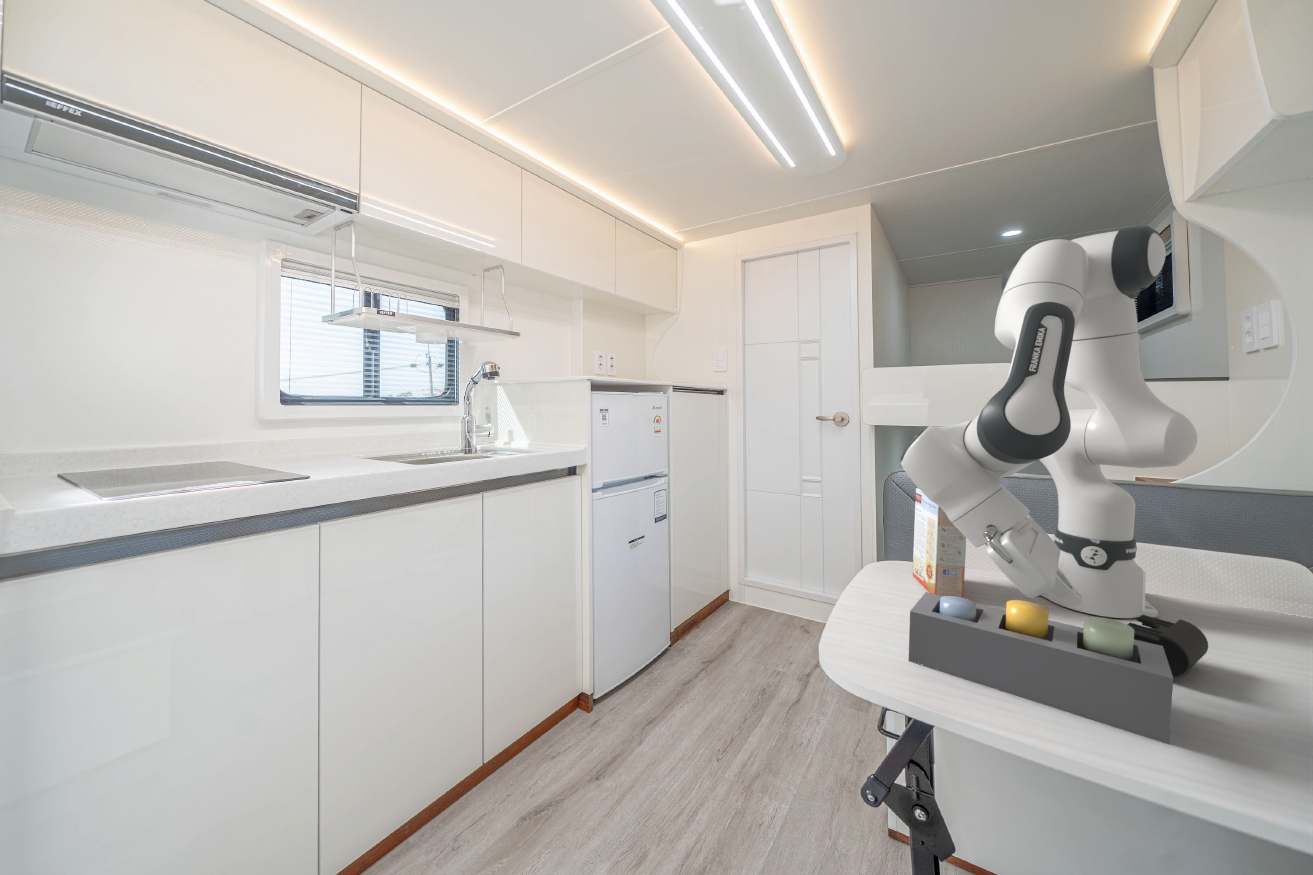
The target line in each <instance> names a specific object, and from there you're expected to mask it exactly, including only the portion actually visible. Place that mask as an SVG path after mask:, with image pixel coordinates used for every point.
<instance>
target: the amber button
mask: <svg viewBox="0 0 1313 875" xmlns="http://www.w3.org/2000/svg"><path fill="white" fill-rule="evenodd" d="M1005 606H1006V609H1005V610H1006V628H1007V629H1008V630H1009V631H1011V632H1015V633H1019V634H1023V635H1027V636H1031V637H1035V638H1039V639H1043V638H1046V637H1047V636H1048V620H1049V618H1050V617H1049V616H1050V615H1049V614H1050V612H1049V609H1048V608H1046V606H1043V605H1041V604H1039V603H1035V602H1031V601H1026V600H1021V599H1019V600H1018V599H1012V600H1007V601H1006V605H1005Z"/></svg>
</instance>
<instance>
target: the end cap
mask: <svg viewBox="0 0 1313 875" xmlns="http://www.w3.org/2000/svg"><path fill="white" fill-rule="evenodd" d="M1136 622H1139V623H1141V624H1137V623H1133V622H1128V623H1127V625H1129V626H1130V627H1132V628H1133V629H1134V640H1138V641H1143V642H1147V643H1152V644H1156V645H1160V646H1163V648H1164V651H1165V654H1166V657H1167V660H1168V663H1169V666H1170V670H1171V673H1172V676H1173V678H1178V677H1181V676H1183V675H1185V674H1186V673H1187V672H1188V671H1190V669H1192V667H1193V666H1194V665H1195V664H1196V663H1197V662H1198V661H1200V660H1201V659H1202V658H1203V657H1204V656H1205V655H1206V654H1207V652H1208V649H1209V642H1208V639H1207V637H1206V635H1205V634H1204V632H1203V631H1201V629H1200V628H1198V627H1197V626H1196V625H1194V624H1192V623H1191V622H1189V621H1187V620H1184V619H1179V620H1177V621H1176V622H1171V621H1167V620H1164V619H1160V618H1158V617H1149V616H1146V615H1141V616H1139V617H1136Z"/></svg>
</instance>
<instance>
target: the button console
mask: <svg viewBox="0 0 1313 875" xmlns="http://www.w3.org/2000/svg"><path fill="white" fill-rule="evenodd" d="M941 597H943V596H941V595H937V594H932V593H930V592H929V591H928V592H927V591H926V592H924V593H923V594H922V596H921V598H919V600H918V601H917V602H915V604H914V605H913V607H912V608H911V609H910V610H909V632H908V633H909V638H908V662H911V661H913V662H912V663H914V662H916V663H915V664H917V663H919V664H918V665H920V664H923V665H925V666H924V667H926V666H928V667H927V668H930V667H931V668H930V669H933V670H936V669H937V670H936V671H940V672H942V671H943V673H945V672H946V674H949V675H951V676H955V677H959V678H962V679H965V680H967V681H971V682H974V683H977V684H979V685H984V686H987V687H989V688H992V689H995V690H998V691H1002V692H1006V693H1009V694H1012V695H1015V696H1017V697H1021V698H1024V699H1027V700H1030V701H1033V702H1037V703H1039V704H1043V705H1046V706H1049V707H1053V708H1056V709H1059V710H1061V711H1064V712H1068V713H1071V714H1074V715H1076V716H1077V715H1078V716H1080V717H1084V718H1087V719H1090V720H1093V721H1097V722H1100V723H1103V724H1105V725H1108V726H1112V727H1115V728H1118V729H1121V730H1125V731H1128V732H1130V733H1133V734H1136V735H1140V736H1142V737H1143V736H1144V737H1145V738H1149V739H1153V740H1155V741H1159V742H1162V743H1164V744H1168V745H1169V744H1170V731H1171V718H1172V717H1171V715H1172V707H1173V706H1172V703H1173V691H1174V689H1173V688H1174V677H1173V676H1172V673H1171V670H1170V666H1169V663H1168V660H1167V657H1166V654H1165V651H1164V648H1163V646H1160V645H1156V644H1152V643H1147V642H1143V641H1138V640H1134V643H1133V658H1132V659H1130V660H1123V659H1119V658H1115V657H1111V656H1107V655H1103V654H1099V653H1095V652H1091V651H1089V650H1087V649H1086V648H1085V647H1084V646H1083V632H1084V627H1082V626H1081V627H1080V626H1076V625H1073V624H1069V623H1063V622H1058V621H1055V620H1049V619H1048V636H1047V637H1046V638H1043V639H1039V638H1035V637H1031V636H1027V635H1023V634H1019V633H1015V632H1011V631H1009V630H1008V629H1007V628H1006V609H1002V608H996V607H992V606H989V605H984V604H980V603H975V602H974V603H975V604H976V623H975V622H971V621H967V620H963V619H959V618H955V617H951V616H947V615H943V614H939V613H940V598H941ZM923 665H922V666H923Z"/></svg>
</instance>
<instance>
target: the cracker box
mask: <svg viewBox="0 0 1313 875" xmlns="http://www.w3.org/2000/svg"><path fill="white" fill-rule="evenodd" d="M914 506H915V507H914V526H913V527H914V529H913V530H914V531H913V532H914V534H913V550H912V551H913V555H912V556H913V557H912V576H913V577H914V578H915V579H916V580H917V581H918V582H919V584H921V585H922V587H923V588H925V590H926V591H928V593H932V594H937V595H941V596H957V597H962V598H964V594H965V591H964V590H965V570H966V553H967V552H966V549H967V548H966V547H967V538H966V537H965V536H964V535H963V534H962V533H961V532H960V531H959V530H958V529H957V527H956V526H955V525H954V524H953V523H952V522H951V521H950V520H949V518H948V517H947V515H946V513H945V512H944V510H943V509H942V508H941V507H940V506H938V505H937V504H935V503H934V502H932V501H931V500H929V499H928V498H927V497H926V496H925V494H924V493H923V492H922V491H921V490H920V489H919V488H918V487H916V488H915V505H914Z"/></svg>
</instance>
